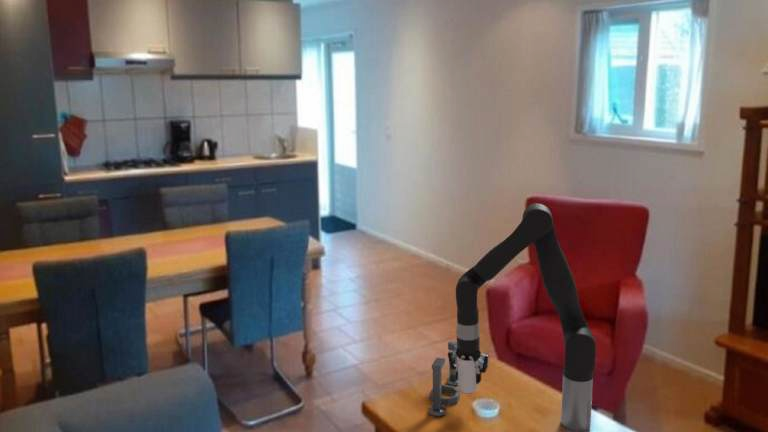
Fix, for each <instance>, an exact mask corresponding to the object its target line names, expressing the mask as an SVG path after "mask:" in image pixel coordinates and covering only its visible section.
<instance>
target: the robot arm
mask: <svg viewBox="0 0 768 432" xmlns="http://www.w3.org/2000/svg"><path fill="white" fill-rule="evenodd" d="M553 218H554V217H553V214H552V212H551V210H550V209H549V208H548V207H547V206H546V205H544V204H542V203H531V204H529V205H528V206H527V207H526V208H525V209H524V211H523V214H522V220H521V221H520V223H519V224H518V225H517V226H516V228H515V229H514V230H513V231H512V233H511V234H510V235H509V236H507V237H506V238H505V239H504V240H502V241H501V242H500V243H498V244H497V245H496V246H494V247H493V248H492V249H490V250H489V251H487V253H485V255H484V256H483V257H482V258H481V259H479V260H478V261H477V263H476V264H475V265H474V266H472V267H470V268H469V269H468V270H467V271H465V272H464V273H463V274H462V275H461V276H460V277H459V279H458V280H457V284H456V285H455V300H456V308H457V309H456V317H457V319H456V332H455V333H456V342H457V350H456V351H453V350H450V351H449V350H448V352H447V358H448V362H449V363H450V368H451V369H455V370H456V379H457V380H458V364H457V365H456V364H455V359H454V357H455V354H456V355H457V359H459V357H460V358H461V359H463V360H464V359H470V360H472V361H473V362H474V365H475V368H476V372H477V373H476V384H477V385H480V383H481V381H482V373H483V374H484V373H486V372H487V370H488V369H487V365H488V366H489V361H490V360H489V359H490V354H489V353H486V354H485V353H482V352H481V349H480V343H481V342H480V341H481V340H480V338H481V337H480V324H479V323H480V322H479V320H480V319H479V313H480V312H479V307H478V291H479V289H480V288H481V287H482V286H483V285H485V283H486V282H489V281H491V280H492V279H494V278H496V276H497V275H498V274H499V273H500V272H501V271H503V269H505V268H506V267H507V265H509V263H511V262H512V261H513V260H514V259H515V258H516V257H517V256H518V255H519V254H520V253H521V252H523V251H524V250H526V248H528V247H529V246H531V245H532V244H533V246H534V248H535V252H536V258H537V261H538V262H537V264H538V267H539V268H538V269H539V272H540V276H541V280H542V282H543V286H544V288H545V291H546V294H547V296H548V298H549V300H550V302H551V303H552V306H553V307H554V309H555V311H556V313H557V315H558V317H559V318H558V319H559V322H560V325H561V330H562V335H563V342H564V364H563V369H562V371H563V372H562V390H561V391H562V392H561V393H562V394H561V413H560V414H561V415H560V418H561V419H560V423H561V425H562V426H563V427H564V428H566V429H568V430H571V431H575V432H576V431H577V432H583V431H590V430H591V422H592V420H591V419H592V406H593V405H592V404H593V403H592V401H593V384H594V383H593V381H594V379H593V378H594V372H595V366H596V354H597V353H596V351H597V346H596V345H597V344H596V341H595V338H594V335H593V333H592V330H591V329H590V327H589V324H588V323H587V321H586V318H585V316H584V313H583V311H582V309H581V305H580V299H579V293H578V289H577V285H576V281H575V279H574V276H573V273H572V271H571V268H570V265H569V263H568V260H567V258H566V256H565V253H564V252H563V250H562V248H561V245H560V243H559V241H558V238H557V234H556V229H555V226H554V220H553ZM480 357H481V358H482V361H484V362H483V367H480V364H479V361H478V359H479V358H480ZM476 361H477V364H476ZM449 363H448V364H449Z"/></svg>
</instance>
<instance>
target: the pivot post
mask: <svg viewBox="0 0 768 432" xmlns="http://www.w3.org/2000/svg"><path fill="white" fill-rule="evenodd" d="M449 351H450V350H449V349H448V352H449ZM454 359H455V364H456V365H458V357H457V355H456V354H455V357H454ZM448 364H449V366H448V367H449V369H448V373H449V374H448V375H449V376H448V377H447V378H446V385H448V386H454V387H458V380H457V379H456V370H455V369H451V368H450V363H448Z"/></svg>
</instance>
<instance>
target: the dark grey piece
mask: <svg viewBox="0 0 768 432" xmlns="http://www.w3.org/2000/svg"><path fill="white" fill-rule="evenodd" d="M445 364H446V358H443V357H436V358H435V359H434V361H433V362H432V364H431V370H432V388H433V401H432V405H431V406H429V407H428V408H427V409H428V415H429V416H430V417H432V418H443V417H445V416H446V414H447V408H446V406H445V407H444V405H442V397H443V395H442V385H443V383H442V369H443V367H444V365H445Z"/></svg>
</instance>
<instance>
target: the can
mask: <svg viewBox="0 0 768 432" xmlns="http://www.w3.org/2000/svg"><path fill="white" fill-rule="evenodd" d="M476 364H477V361H476ZM457 365H458V386H457V389H458V390H459V391H460V393H462V394H466V395H470V394H471V395H472V394H475V393H476V392H477V391H478V384H476V373H477V372H476V368H475V365H474V362H473V361H472V360H470V359H464V360H463V359H461V358H460V357H459V358H457Z"/></svg>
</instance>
